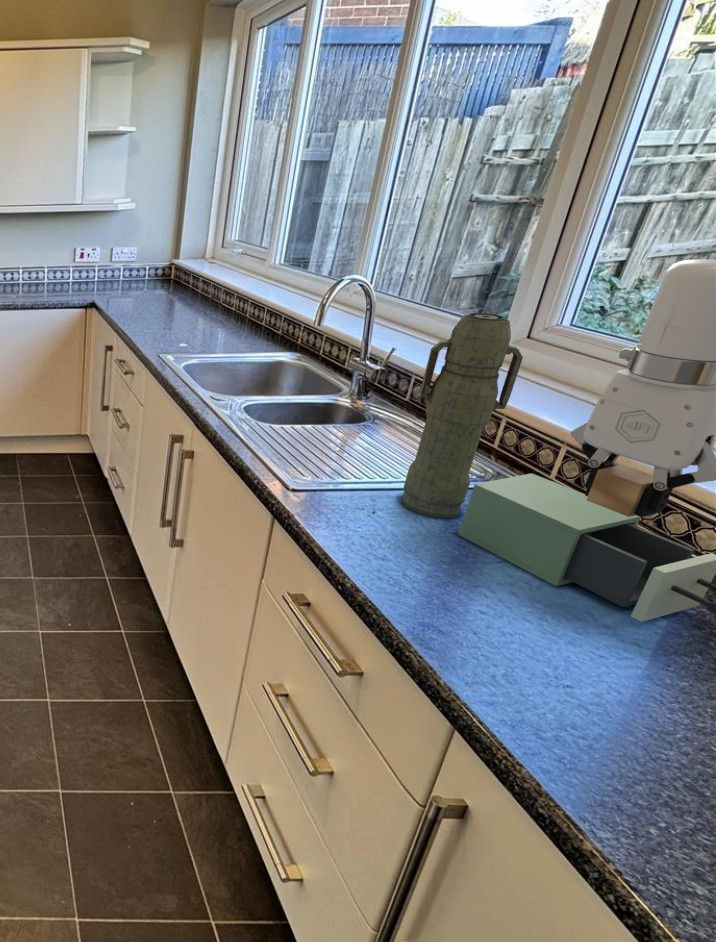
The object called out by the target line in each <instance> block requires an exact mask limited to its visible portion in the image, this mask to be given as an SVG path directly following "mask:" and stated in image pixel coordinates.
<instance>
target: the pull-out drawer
mask: <svg viewBox="0 0 716 942" xmlns="http://www.w3.org/2000/svg"><path fill="white" fill-rule="evenodd" d="M694 552H695V549H694V548H691V547H689V546H686V545H684V544H681V543H679V542H676V541H674V540H671V539H670V538H668V537H667V538H666V537H664V536H661V535H659V534H656V533H654V532H652V531H649V530H647V529H644V528H642V527H639V526H638V525H637V526H635V525H632V524H630V523H628V524H623V525H619V526H614V527H610V528H606V529H601V530H597V531H592V532H588V533H583V534H581V535H580V538H579V540H578V542H577V545H576V547H575V550H574V552H573V555H572V557H571V560H570V562H569V564H568V567H567V569H566V572H565V574H564V577H565V578H567V579H569V580H571V581H573V582H572V583H575V584H577V585H578V586H580V587H582V588H584V589H586V590H588V591H590V592H592V593H594V594H596V595H598V596H600V597H602V598H604V599H606V600H608V601H610V602H612V603H614V604H616V605H618V606H620V607H622V608H624V607H625V608H626V607H628V606H633V605H635V606H634V608H633V610H632V613H631V614H630V617H631V618H633V619H635V620H637V621H639V622H640V623H642V622H646V621H650V620H653V619H658V618H660V617H663V616H668V615H671V614H674V613H678V612H682V611H685V610H689V609H693V608H696V607H699V606H700V605H703V606H705V607H706V610H707V611H708V612H710V613H711V614H714V615H716V600H714V601H711V600H709V599H706V598H704V597H705V595H706V594H707V592H708V590H712V591H714V592H716V584H715V583H712V581H713V580H714V578H715V576H716V554H715V553H713V552H710V553H707V554H703V555H698V556H695V557H692V556H693V553H694Z"/></svg>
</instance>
